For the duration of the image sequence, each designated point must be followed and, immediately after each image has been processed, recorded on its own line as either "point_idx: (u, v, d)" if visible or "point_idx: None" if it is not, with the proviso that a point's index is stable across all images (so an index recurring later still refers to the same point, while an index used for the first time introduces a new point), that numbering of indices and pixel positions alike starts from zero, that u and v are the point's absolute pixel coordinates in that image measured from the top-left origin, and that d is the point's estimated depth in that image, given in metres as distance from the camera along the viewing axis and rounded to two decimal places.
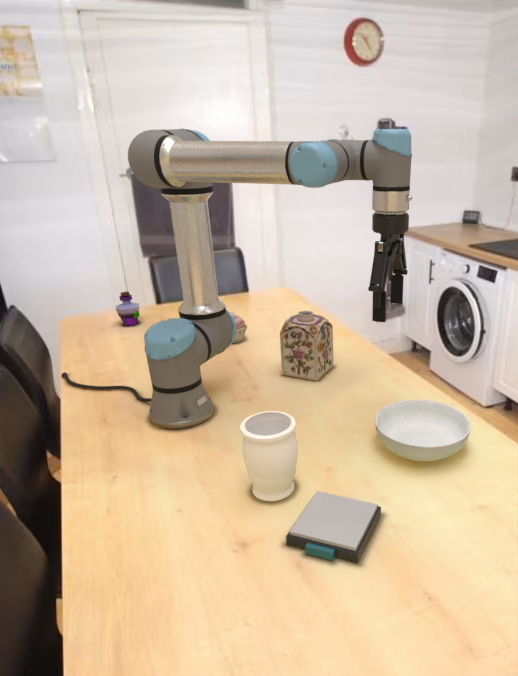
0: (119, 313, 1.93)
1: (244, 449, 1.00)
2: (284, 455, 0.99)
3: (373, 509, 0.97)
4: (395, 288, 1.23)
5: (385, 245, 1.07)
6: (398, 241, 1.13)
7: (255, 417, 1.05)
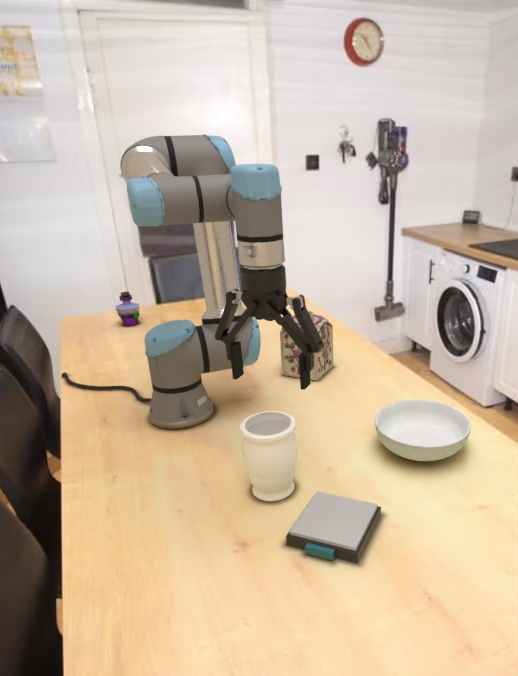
0: (119, 313, 1.93)
1: (244, 449, 1.00)
2: (284, 455, 0.99)
3: (373, 509, 0.97)
4: None
5: (226, 295, 0.93)
6: (265, 303, 0.90)
7: (255, 417, 1.05)
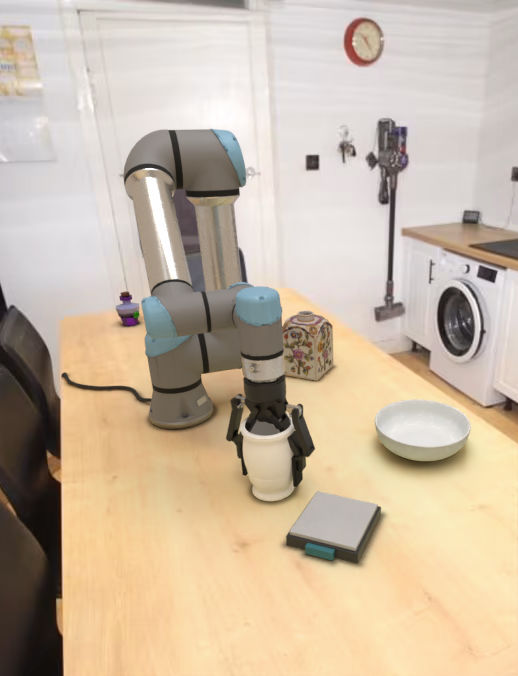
0: (119, 313, 1.93)
1: (244, 449, 1.00)
2: (284, 455, 0.99)
3: (373, 509, 0.97)
4: None
5: None
6: (267, 409, 0.98)
7: None
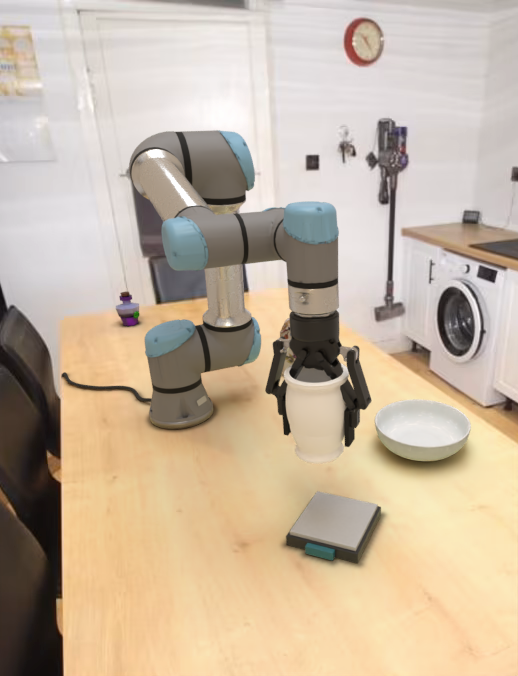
0: (119, 313, 1.93)
1: (288, 401, 0.85)
2: (336, 407, 0.84)
3: (373, 509, 0.97)
4: None
5: (273, 344, 0.85)
6: (316, 351, 0.82)
7: None
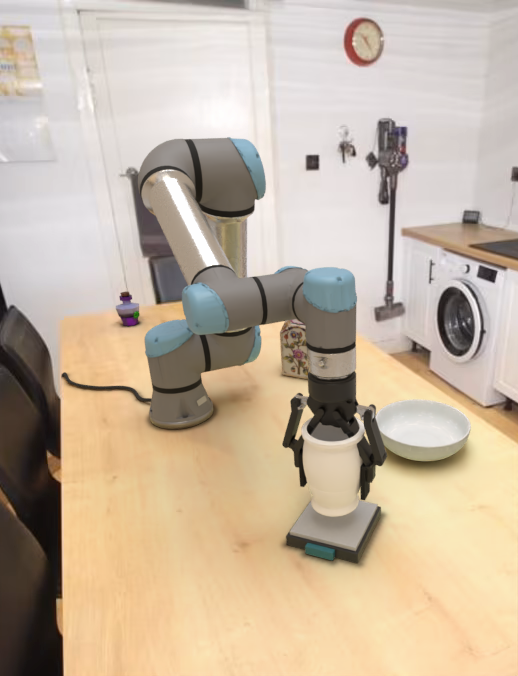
0: (119, 313, 1.93)
1: (306, 457, 0.87)
2: (353, 464, 0.86)
3: (373, 509, 0.97)
4: None
5: None
6: (334, 410, 0.84)
7: None
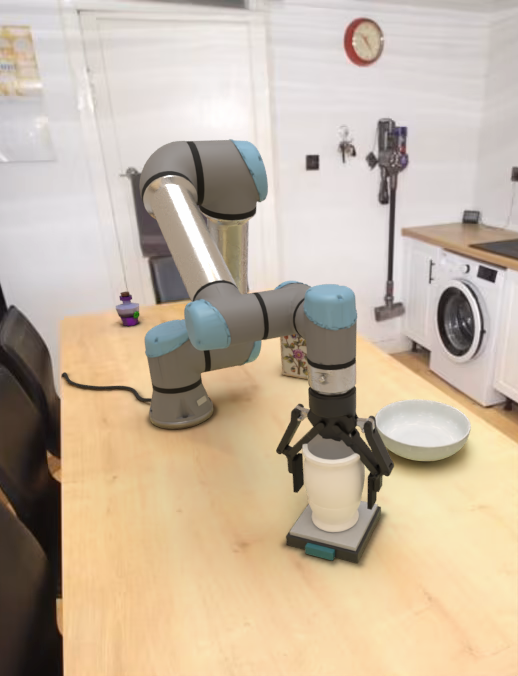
0: (119, 313, 1.93)
1: (307, 474, 0.88)
2: (353, 481, 0.87)
3: (373, 509, 0.97)
4: None
5: None
6: (334, 424, 0.85)
7: (316, 437, 0.92)
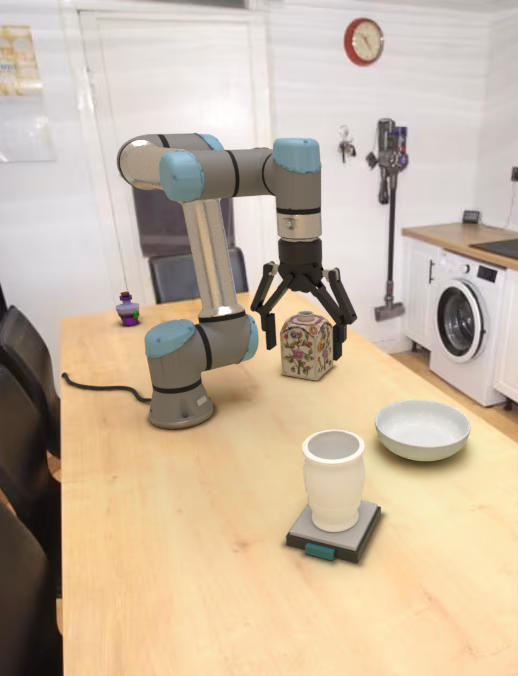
0: (119, 313, 1.93)
1: (307, 474, 0.88)
2: (353, 481, 0.87)
3: (373, 509, 0.97)
4: None
5: (263, 266, 0.95)
6: (302, 275, 0.93)
7: (316, 437, 0.92)
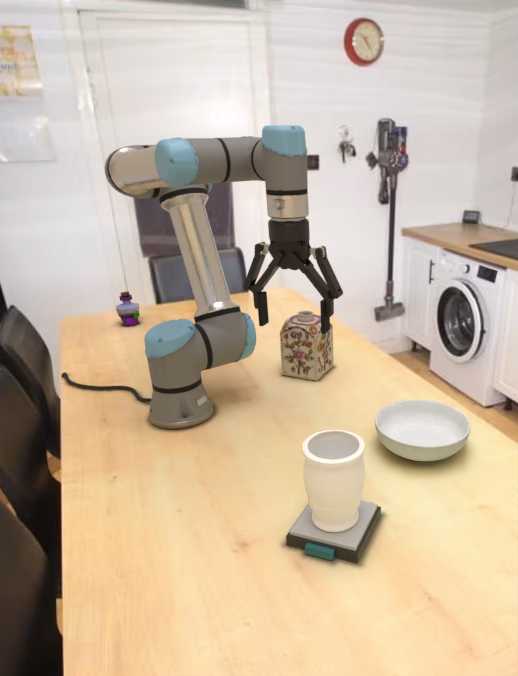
0: (119, 313, 1.93)
1: (307, 474, 0.88)
2: (353, 481, 0.87)
3: (373, 509, 0.97)
4: None
5: (255, 246, 1.02)
6: (290, 253, 1.00)
7: (316, 437, 0.92)
